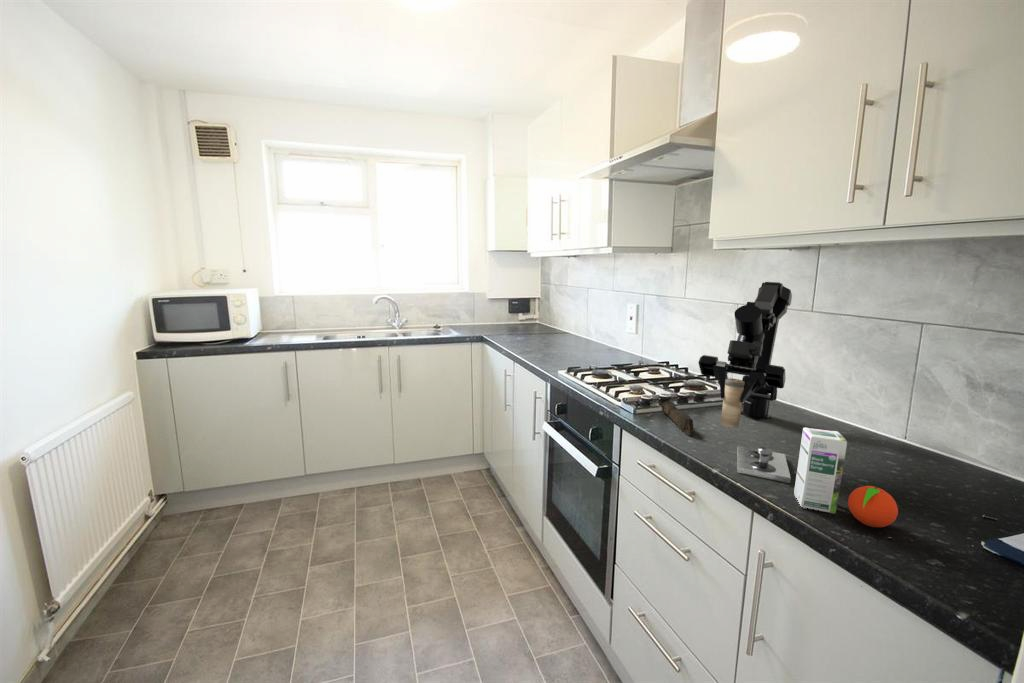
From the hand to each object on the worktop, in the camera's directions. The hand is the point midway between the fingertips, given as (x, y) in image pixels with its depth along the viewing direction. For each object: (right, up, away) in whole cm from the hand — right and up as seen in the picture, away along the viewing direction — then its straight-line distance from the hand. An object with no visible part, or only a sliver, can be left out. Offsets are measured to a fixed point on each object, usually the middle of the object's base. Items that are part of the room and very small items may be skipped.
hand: (731, 399), depth 105 cm
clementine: (+12, -19, -26) cm, 34 cm away
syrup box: (+6, -18, -19) cm, 27 cm away
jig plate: (+5, -15, -3) cm, 16 cm away
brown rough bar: (-4, -10, +22) cm, 24 cm away
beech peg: (+1, -6, +2) cm, 7 cm away
